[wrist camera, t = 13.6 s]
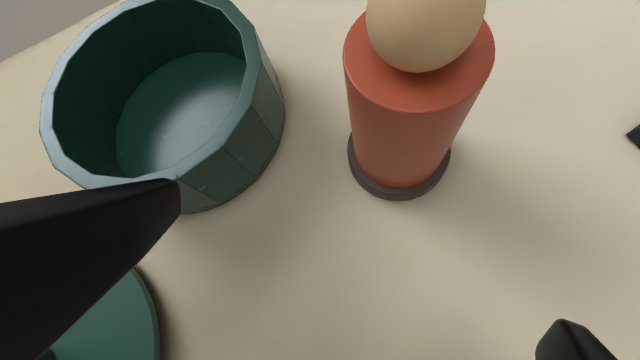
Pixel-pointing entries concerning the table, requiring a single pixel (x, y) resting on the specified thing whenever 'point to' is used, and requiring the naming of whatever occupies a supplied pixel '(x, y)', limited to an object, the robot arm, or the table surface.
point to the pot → (165, 101)
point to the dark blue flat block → (635, 135)
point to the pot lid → (113, 327)
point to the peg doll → (412, 89)
